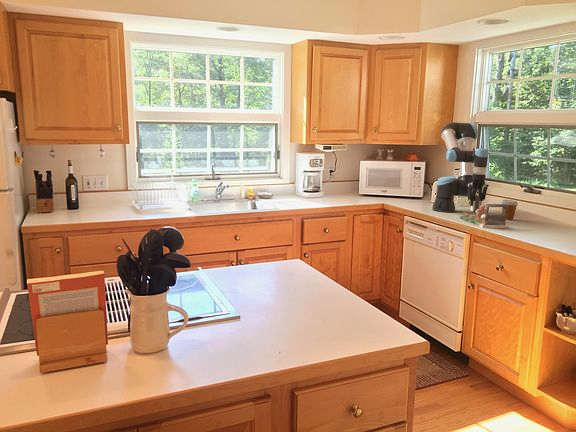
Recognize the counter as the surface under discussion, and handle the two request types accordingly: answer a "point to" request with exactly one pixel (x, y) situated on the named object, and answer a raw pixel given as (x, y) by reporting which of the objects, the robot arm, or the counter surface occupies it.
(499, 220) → the pitch
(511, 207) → the disposable coffee cup
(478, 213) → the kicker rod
